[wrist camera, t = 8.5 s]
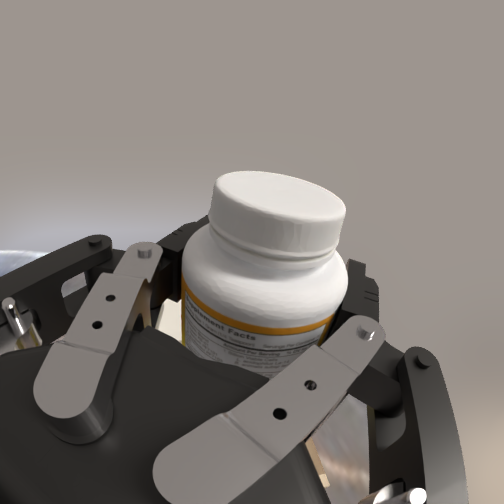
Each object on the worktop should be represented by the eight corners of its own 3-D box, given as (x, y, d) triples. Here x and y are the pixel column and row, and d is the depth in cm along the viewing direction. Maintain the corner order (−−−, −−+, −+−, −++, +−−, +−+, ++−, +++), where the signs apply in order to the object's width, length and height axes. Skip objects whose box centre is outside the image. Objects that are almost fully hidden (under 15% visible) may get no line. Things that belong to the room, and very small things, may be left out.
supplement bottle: (234, 334, 17) (266, 159, 12) (311, 388, 14) (392, 208, 9) (159, 383, 13) (148, 174, 8) (242, 459, 10) (321, 261, 5)
